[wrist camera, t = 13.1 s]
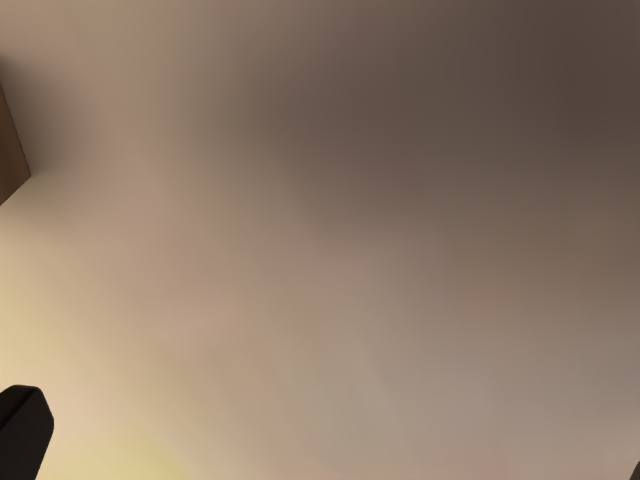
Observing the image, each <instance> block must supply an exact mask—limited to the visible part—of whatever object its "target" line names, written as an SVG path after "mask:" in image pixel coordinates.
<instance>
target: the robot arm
mask: <svg viewBox="0 0 640 480" xmlns="http://www.w3.org/2000/svg"><path fill="white" fill-rule="evenodd" d="M53 430H54V418H53V416H52V413H51V411H50V409H49V406H48V404H47V402H46V399H45V397H44V394H43V392H42V391H41V389H39V388H38V387H35V386H26V385H13V386H10V387H8V388H7V389H5V390H4V391H2V392H1V393H0V480H35V479H36V476H37V474H38V471H39V469H40V466H41V463H42V461H43V458H44V455H45V453H46V450H47V447H48V445H49V442H50V439H51V437H52V434H53ZM629 480H640V461H639V462H638V464H637V465H636V467H635V469H634V471H633V473H632V475H631V477H630V479H629Z"/></svg>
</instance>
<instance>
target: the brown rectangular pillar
mask: <svg viewBox="0 0 640 480" xmlns="http://www.w3.org/2000/svg"><path fill="white" fill-rule="evenodd" d="M30 177H31V175H30V172H29V169H28V166H27V163H26V160H25V157H24V154H23V151H22V148H21V145H20V142H19V139H18V136H17V133H16V130H15V127H14V124H13V121H12V118H11V115H10V112H9V109H8V106H7V103H6V100H5V97H4V94H3V91H2V89H1V86H0V206H1V205H2V204H3V203H4V202H5V201H6V200H7V199H8V198H9V197H10V196H11V195H12V194H13V193H14V192H15V191H16V190H17V189H18V188H19V187H21V186H22V185H23V184H24V183H25V182H26V181H27V180H28V179H29V178H30Z"/></svg>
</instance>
